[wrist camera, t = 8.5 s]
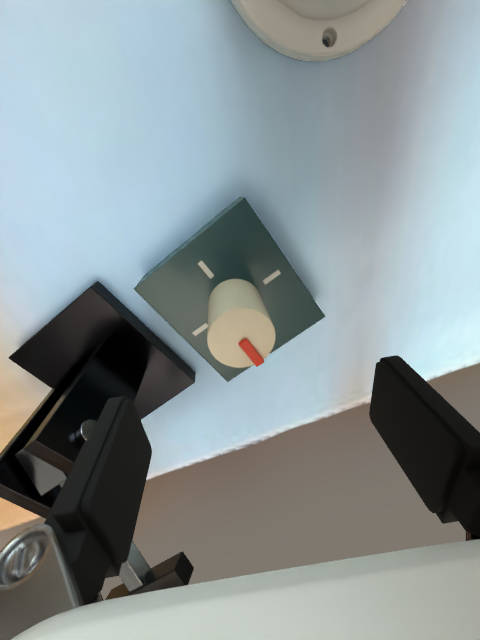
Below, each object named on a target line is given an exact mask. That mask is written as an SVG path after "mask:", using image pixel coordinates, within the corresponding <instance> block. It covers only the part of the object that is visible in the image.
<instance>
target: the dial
mask: <svg viewBox="0 0 480 640" xmlns="http://www.w3.org/2000/svg"><path fill="white" fill-rule="evenodd" d="M275 336H276V335H275V329H274V326H273V324H272V321H271V319H270V317H269V315H268V312H267V310H266V308H265V306H264V303H263V301H262V299H261V296H260V294H259V292H258V290H257V289H256V288H255V286H253V285H252V284H251V283H250V282H248V281H245V280H242V279H229V280H226V281H223V282H221V283H220V284H218V285H217V286H216V287H215V288H214V289H213V291H212V293H211V295H210V297H209V304H208V331H207V343H208V347H209V350H210V352H211V353H212V355H213V356H214V357H215V358H216V359H217V360H218V361H219V362H221V363H223V364H225V365H227V366H230V367H236V368H244V367H249V366H253V365H256V366H259V365H260V364H262V363H264V359H265V358H266V357H267V356H268V355H269V353H270V352H271V350H272V348H273V346H274V343H275Z"/></svg>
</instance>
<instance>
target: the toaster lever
mask: <svg viewBox="0 0 480 640" xmlns="http://www.w3.org/2000/svg"><path fill="white" fill-rule="evenodd" d="M15 456H16V458H17V459H18V461H19V462H20V464H21V465H22V467H23V469H24V470H25V472H26V473H27V475H28V476H29V478H30V479H31V481H32V482H33V484H34V485H35V487H36V489H37V490H38V492H39V493H40V495H41V496H42V495H44V494H45V493H47V492H48V491H50V490H51V489H53V488H54V487H56V486H57V485H58V484H59V485H60V487H61V488H62V486H63V484H64V482H65V480H66V478H67V476H68V475H67V474H66V473H64V472H62V471H60V470H59V469H57V468H55V467H53V466H51V465H50V464H48V463H46V462H44V461H43V460H41V459H39V458H37V457H36V456H34V455H32V454H30V453H28V452H27V451H25V450H23V449H22V450H21V451H20V452H18V453H17V454H16V455H15ZM193 569H194V568H193V566H192V565H191V563H190V562H189V560H188V559H187V557H186V556H185V555H184V553H183V552H180V553H179V554H177V555H175V556H173V557H171V558H169V559H167V560H165V561H164V562H162V563H160V564H158V565H156V566H154V567H153V568H150V567H149V565H148V564H147V562H146V561H145V559H144V558H143V556H142V555H141V553H140V551H139V550H138V548H137V547H136V545H135V544H134V543H133V541H132V543H131V547H130V552H129V556H128V559H127V561H126V562H125V563H122V565H121V570H120V574H119V577H120V578H121V580H122V581H123V584H121V585H119V586H117V587H115V588H114V589H112V590H111V591H110V593H109V595H108V596H107V598H106V600H109V599H114V598H120V597H125V596H130V595H136V594H141V593H146V592H151V591H157V590H162V589H168V588H174V587H180V586H186V585H188V583H189V580H190V577H191V575H192V572H193Z"/></svg>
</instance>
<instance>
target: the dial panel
mask: <svg viewBox="0 0 480 640" xmlns="http://www.w3.org/2000/svg"><path fill="white" fill-rule="evenodd" d="M229 279H242V280H245V281H248V282H250V283H251V284H252V285H253V286H255V288H256V289H257V290H258V292H259V294H260V296H261V299H262V301H263V303H264V306H265V308H266V310H267V312H268V315H269V317H270V319H271V321H272V324H273V326H274V329H275V335H276V336H275V343H274V346H273V348H272V350H271V352H270V353H272V352H273V351H275V350H276V349H278V348H279V347H280V346H282V345H283V344H285V343H286V342H288V341H289V340H291V339H292V338H294V337H295V336H297V335H298V334H300V333H301V332H303V331H304V330H306V329H307V328H309V327H310V326H312V325H313V324H315V323H316V322H318V321H319V320H321V319H322V318H324V317H325V315H324V314H323V312H322V311H321V309H320V308H319V307H318V305H317V304H316V302H315V301H314V299H313V298H312V296H311V295H310V293H309V292H308V290H307V289H306V287H305V286H304V284H303V283H302V281H301V280H300V278H299V277H298V276H297V274H296V273H295V271H294V270H293V268H292V267H291V265H290V264H289V262H288V261H287V259H286V258H285V256H284V255H283V253H282V252H281V250H280V249H279V247H278V246H277V245H276V243H275V242H274V240H273V239H272V237H271V236H270V234H269V233H268V231H267V230H266V228H265V227H264V225H263V224H262V222H261V221H260V219H259V218H258V217H257V215H256V214H255V212H254V211H253V209H252V208H251V206H250V205H249V203H248V202H247V200H246V199H245V198H244V197H239V198H238V199H237V200H235V201H234V202H233V203H232V204H231V205H229V206H228V207H227V208H226V209H225V210H223V211H222V212H221V213H220V214H219V215H217V216H216V217H215V218H214V219H213V220H211V221H210V222H209V223H208V224H207V225H205V226H204V227H203V228H202V229H201V230H199V231H198V232H197V233H196V234H194V235H193V236H192V237H191V238H190V239H188V240H187V241H186V242H185V243H184V244H182V245H181V246H180V247H179V248H178V249H176V250H175V251H174V252H173V253H172V254H170V255H169V256H168V257H167V258H166V259H164V260H163V261H162V262H161V263H160V264H158V265H157V266H156V267H155V268H153V269H152V270H151V271H150V272H149V273H147V274H146V275H145V276H144V277H143V278H142V279H141V281H140V282H139V283H138V284H137V286H136V287H135V288H134V290H135V291H136V292H137V293H138V294H139V295H140V296H141V297H142V298H143V299H144V300H146V301H147V302H148V303H149V304H150V305H151V306H152V307H153V308H154V309H155V310H156V311H157V312H158V313H159V314H160V315H161V316H162V317H163V318H164V319H165V320H166V321H167V322H168V323H169V324H170V325H171V326H172V327H173V328H174V329H175V330H176V331H177V332H178V333H179V334H180V335H181V336H182V337H183V338H184V339H185V340H186V341H187V342H188V343H189V344H190V345H191V346H192V347H193V348H194V349H195V350H196V351H197V352H198V353H199V354H200V355H201V356H202V357H203V358H204V359H205V360H206V361H207V362H208V363H209V364H210V365H211V366H212V367H213V368H214V369H215V370H216V371H217V372H218V373H219V374H220V375H221V376H222V377H223V378H224V379H225V380H226V381H227V382H228V381H230V380H231V379H233V378H234V377H236V376H237V375H239V374H240V373H242V372H243V371H245V370H246V369H248V368H249V367H251V366H249V367H244V368H236V367H230V366H227V365H225V364H223V363H221V362H219V361H218V360H217V359H216V358H215V357H214V356H213V355H212V353H211V352H210V350H209V347H208V343H207V331H208V304H209V297H210V295H211V293H212V291H213V289H214V288H215V287H216V286H217V285H218V284H220V283H221V282H223V281H226V280H229ZM270 353H269V354H270Z"/></svg>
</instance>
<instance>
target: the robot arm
mask: <svg viewBox="0 0 480 640" xmlns="http://www.w3.org/2000/svg"><path fill="white" fill-rule="evenodd" d="M407 1H408V0H232V3H233V5H234V7H235V8H236V10H237V11H238V13H239V14H240V16H241V17H242V18H243V20H244V21H245V23H246V24H247V26H248V27H249V28H250V29H251V30H252V31H253V32H254V33H255V34H256V35H257V36H258V37H259V38H260V39H261V40H262V41H263V42H264V43H265V44H267V45H268V46H270V47H271V48H273V49H274V50H276V51H278V52H279V53H281V54H282V55H285V56H288V57H291V58H294V59H297V60H300V61H314V62H321V61H326V60H332V59H337V58H340V57H342V56H344V55H347V54H349V53H351V52H353V51H356V50H357V49H359V48H360V47H361V46H363V45H364V44H366V43H367V42H368V41H370V40H371V39H373V38H374V37H375V36H376V35H377V34H378V33H379V32H380V31H381V30H382V29H383V28H384V27H385V26H387V25H388V24H389V23H390V22H391V20H392V19H393V18H394V17H395V16H396V14H397V13H398V12H399V11H400V10H401V8H402V7H403V6H404V5H405V4H406V2H407ZM323 39H324V40H326V41H327V43H328V46H327V47H326V46H325V45H324V44H323ZM369 414H370V419H371V421H372V423H373V425H374V426H375V428H376V429H377V431H378V433H379V434H380V436H381V437H382V439H383V440H384V442H385V443H386V445H387V446H388V448H389V449H390V451H391V452H392V454H393V456H394V457H395V459H396V460H397V461H398V463H399V465H400V466H401V468H402V469H403V471H404V472H405V474H406V476H407V477H408V479H409V480H410V482H411V483H412V485H413V486H414V488H415V489H416V491H417V492H418V494H419V496H420V497H421V499H422V500H423V502H424V503H425V505H426V506H427V508H428V509H429V510H430V511H431V512H432V513H436V514H437V516H438V517H439V519H440V520H441V522H442V523H449V522H455V521H459V522H460V524H461V525H462V526H463V528H464V529H465V530H466V541H462V542H455V543H448V544H441V545H433V546H426V547H420V548H413V549H408V550H401V551H394V552H389V553H382V554H375V555H369V556H362V557H356V558H350V559H343V560H337V561H331V562H325V563H319V564H313V565H306V566H300V567H295V568H288V569H282V570H276V571H269V572H264V573H257V574H251V575H245V576H239V577H233V578H227V579H222V580H215V581H210V582H203V583H198V584H192V585H186V586H180V587H174V588H168V589H162V590H157V591H151V592H146V593H141V594H136V595H130V596H125V597H120V598H114V599H109V600H105V601H104V600H103V598H102V595H101V593H100V591H101V590H102V587H103V583H104V580H105V578H108V577H114V576H119V574H120V570H121V565H122V563H125V562H126V561H127V559H128V556H129V552H130V547H131V543H132V539H133V534H134V530H135V525H136V521H137V517H138V512H139V508H140V503H141V499H142V495H143V491H144V486H145V482H146V477H147V473H148V469H149V464H150V460H151V454H152V450H151V445H150V443H149V440H148V438H147V435H146V433H145V430H144V428H143V425H142V423H141V420H140V418H139V415H138V413H137V410H136V408H135V405H134V403H133V401H132V400H131V399H128V398H127V397H126V396H122V397H115V398H110V399H108V401H107V402H106V404H105V406H104V408H103V410H102V412H101V415H100V417H99V419H98V421H97V423H96V425H95V427H94V429H93V431H92V433H91V435H90V437H89V439H87V440H86V441H85V443H84V444H83V446H82V448H81V450H80V452H79V454H78V456H77V458H76V460H75V462H74V464H73V466H72V468H71V470H70V472H69V474H68V476H67V478H66V480H65V482H64V484H63V486H62V488H61V490H60V492H59V494H58V497H57V499H56V501H55V503H54V505H53V507H52V509H51V511H50V513H49V515H48V517H47V519H46V521H45V523H44V524H37V525H34V526H31V527H29V528H27V529H25V530H23V531H22V532H20V533H18V534H17V535H16V536H15V537H14V538H13V539H11V540H10V541H9V542H8V543H7V544H6V545H5V547H4V548H3V549H2V550H1V551H0V640H480V433H479V432H478V431H477V430H476V429H475V428H474V427H473V426H472V425H471V424H470V423H469V422H468V421H467V420H466V419H465V418H464V417H463V416H462V415H460V414H459V413H458V412H457V411H456V410H455V409H454V408H453V407H452V406H451V405H450V404H449V403H448V402H447V401H446V400H445V399H444V398H443V397H442V396H441V395H440V394H439V393H437V392H436V391H435V390H434V389H433V388H432V387H431V386H430V385H429V384H428V383H427V382H426V381H425V380H424V379H423V378H422V377H421V376H420V375H419V374H418V373H417V372H415V371H414V370H413V369H412V368H411V367H410V366H409V365H408V364H407V363H406V362H405V361H404V360H403V359H402V358H401V357H399V356H390V357H384V358H381V359H380V362H377V363H376V368H375V375H374V383H373V390H372V398H371V405H370V413H369Z"/></svg>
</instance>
